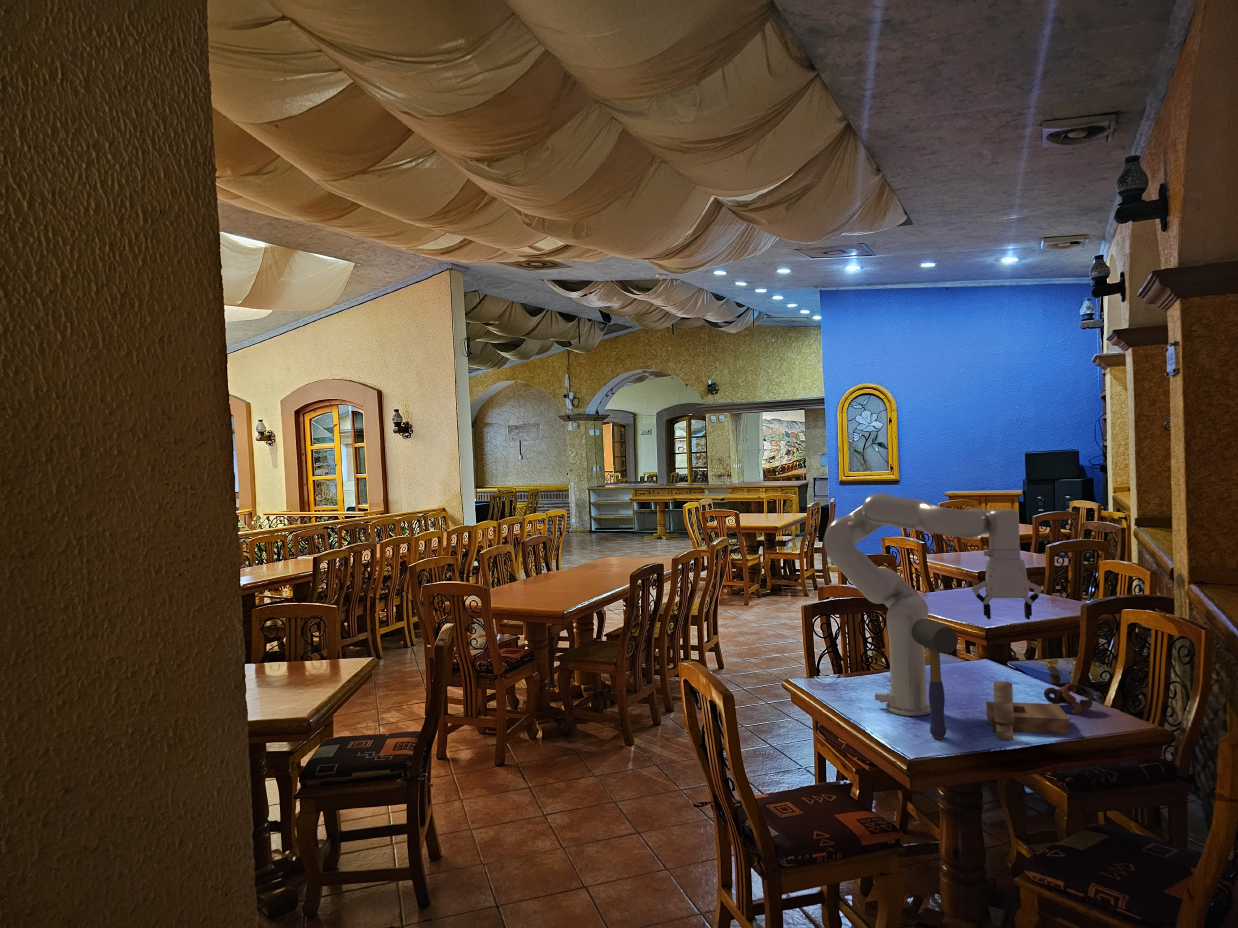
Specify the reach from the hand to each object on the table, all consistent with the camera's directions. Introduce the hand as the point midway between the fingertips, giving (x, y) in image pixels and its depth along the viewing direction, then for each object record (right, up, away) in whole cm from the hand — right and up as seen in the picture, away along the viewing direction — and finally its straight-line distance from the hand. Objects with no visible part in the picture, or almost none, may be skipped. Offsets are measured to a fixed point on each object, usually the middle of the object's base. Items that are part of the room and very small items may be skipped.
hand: (1007, 618), depth 225 cm
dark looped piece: (+21, -27, +8) cm, 35 cm away
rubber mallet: (-23, -29, -10) cm, 38 cm away
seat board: (+3, -28, -3) cm, 28 cm away
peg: (-7, -28, -13) cm, 32 cm away
